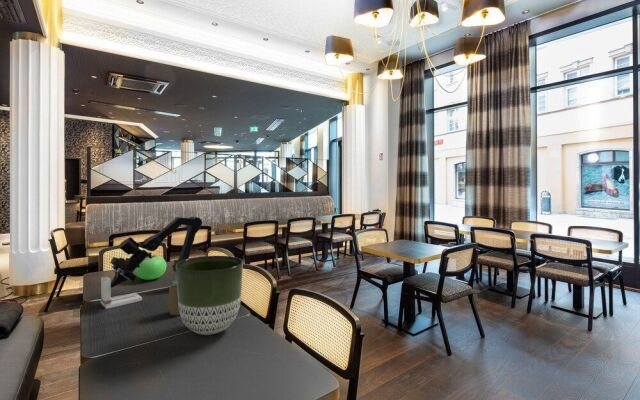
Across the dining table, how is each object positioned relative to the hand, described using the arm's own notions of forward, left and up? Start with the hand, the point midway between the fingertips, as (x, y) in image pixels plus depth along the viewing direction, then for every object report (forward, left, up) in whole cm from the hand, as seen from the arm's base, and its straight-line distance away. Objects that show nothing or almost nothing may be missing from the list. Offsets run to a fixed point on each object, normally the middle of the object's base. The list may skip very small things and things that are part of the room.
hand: (109, 287), depth 150 cm
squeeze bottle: (-35, +10, -8) cm, 37 cm away
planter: (-54, +27, -8) cm, 61 cm away
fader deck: (-3, -3, -8) cm, 9 cm away
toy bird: (+1, -41, -8) cm, 42 cm away
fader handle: (+1, +1, -7) cm, 7 cm away
